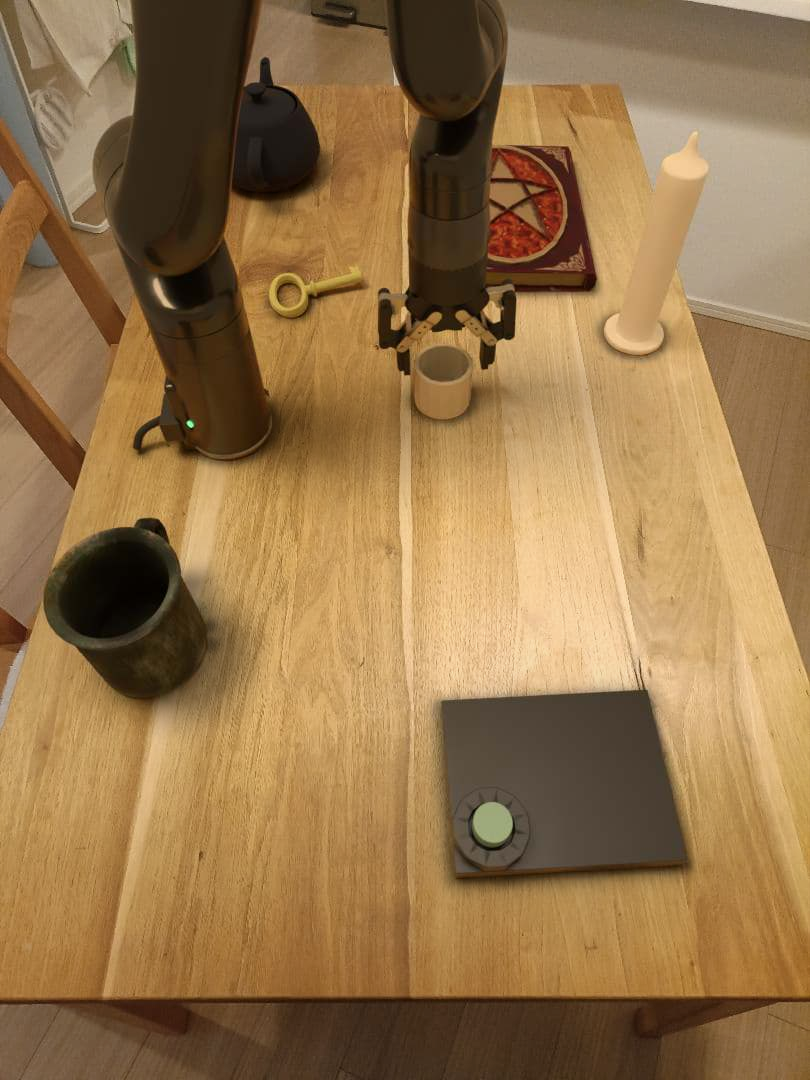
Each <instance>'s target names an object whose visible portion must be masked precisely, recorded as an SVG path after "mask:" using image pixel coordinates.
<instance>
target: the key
mask: <svg viewBox="0 0 810 1080" xmlns="http://www.w3.org/2000/svg"><path fill="white" fill-rule="evenodd" d="M348 268H349V269H348V270H349V272H350V273H348V274H344V275H340V276H336V277H333V278H329V279H325V280H321V281H317V282H315V281H314V280H310V281H309V284H305V283H304V281H303V279H302V278H301V277H300V276H299V275H298V274H296V273H293V272H285V273H281V274H279V275H277V276H276V277H275V278H273V280H272V282H271V283H270V286H269V289H268V300H269V304H270V305H271V307H272V309H273V310H274V311H275V312H276V313H277V314H279V315H280V316H281V317H284V318H289V319H292V318H296V317H297V318H298V317H299V316H301V315H302V314H304V312H305V311H306V310H307V308H308V305H309V296H310V295H312V296H313V297H317V296H318V293H321V292H325V291H329V290H332V289H333V290H334V289H336V288H341V287H344V286H348V285H352V284H355V283H359V282H363V281H364V278H363V274H362V271H360V269H359V265H358V264H356V265H355V266H352V265H351V266H348ZM285 284H293V285H295V286H296V287H298V288H299V290H300V294H301V298H300V300H299V302H298V303H297V304H296V305H294V306H291V307H285V306H283V305H282V304H281V303H280V302H279V300H278V291H279V288H280V287H281V286H283V285H285Z"/></svg>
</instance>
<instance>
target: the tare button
mask: <svg viewBox="0 0 810 1080" xmlns="http://www.w3.org/2000/svg"><path fill="white" fill-rule="evenodd" d="M512 828H513V820H512V816H511V814H510V812H509V811H508V809H507V808H506V807H504V806H503V805H501V804H499V803H496V802H488V803H485V804H483V805H481V806H480V807H479V808H478V809H477V810H476V812H475V814H474V817H473V821H472V831H473V834H474V836H475V838H476V840H477V841H478V842H479V843H481V844H482V845H484V846H486V847H491V848H494V847H499V846H501V845H502V844H504V843H505V842H506V841H507V839H508V838H509V836H510V833H511V831H512Z"/></svg>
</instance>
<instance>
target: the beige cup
mask: <svg viewBox="0 0 810 1080" xmlns="http://www.w3.org/2000/svg"><path fill="white" fill-rule="evenodd" d="M473 376H474V360H473V357H472V355H470V353H469V352H468V350H466V349H465V348H463V347H461V346H459V345H457V344H453V343H448V342H439V343H438V342H437V343H434V344H433V343H432V344H430V345H427V346H424V348H422V349H421V350H420V351H419V352H418V353H417V354H416V355H415V358H414V360H413V395H414V397H413V398H414V399H413V400H414V404H415V407H416V408H417V409H418V411H420V413H422V414H423V415H424V416H426V417H428V418H431V419H435V420H451V419H454V418H457V417H459V416H460V415H462V414H463V413H465V411H467V409H469V408H468V407H469V406H470V403H471V398H472V390H473V389H472V387H473Z"/></svg>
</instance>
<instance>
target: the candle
mask: <svg viewBox="0 0 810 1080" xmlns="http://www.w3.org/2000/svg"><path fill="white" fill-rule="evenodd" d="M698 143H699V132H698V131H694V132H692V133H691V135H690V137H689V139H688V141H687V143H686V144H685V146H684V147H683V149H681V150H680V151H676V152H674V153H672V154H669V155H667V156H666V157H665V158H664V159H663V160H662V163H661V164H660V165H661V166H660V170H659V173H658V176H657V180H656V183H655V186H654V190H653V194H652V198H651V200H650V204H649V208H648V212H647V214H646V219H645V222H644V225H643V229H642V233H641V236H640V238H639V239H640V240H639V243H638V247H637V250H636V254H635V257H634V261H633V264H632V267H631V268H632V269H631V271H630V275H629V278H628V282H627V285H626V289H625V292H624V297H623V299H622V304H621V307H620V311H619V312H617V313H615V314H612V315H611V316H610V317H608V318H607V320H606V322H605V324H604V328H603V336H604V338H605V340H606V342H607V343H608V344H609V345H610V346H611V347H612V348H613V349H615V350H616V351H619V352H620V353H623V354H627V355H632V356H642V355H648V354H650V353H653V352H655V351H656V350H658V349H659V348H660V346H661V345H662V344H663V341H664V336H665V333H664V329H663V326H662V325H661V323H660V322H659V319H660V315H661V313H662V311H663V310H662V309H663V307H664V302H665V301H666V298H667V296H668V292H669V289H670V286H671V283H672V281H673V277H674V274H675V271H676V268H677V266H678V262H679V259H680V257H681V253H682V251H683V248H684V245H685V243H686V240H687V236H688V233H689V230H690V228H691V225H692V221H693V218H694V215H695V213H696V210H697V206H698V203H699V200H700V198H701V196H702V192H703V189H704V186H705V183H706V180H707V177H708V174H709V170H710V167H709V164H708V163H707V161H706V159H704V158H703V157H702V156H701V155H700V154H699V150H698V145H699V144H698Z"/></svg>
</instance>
